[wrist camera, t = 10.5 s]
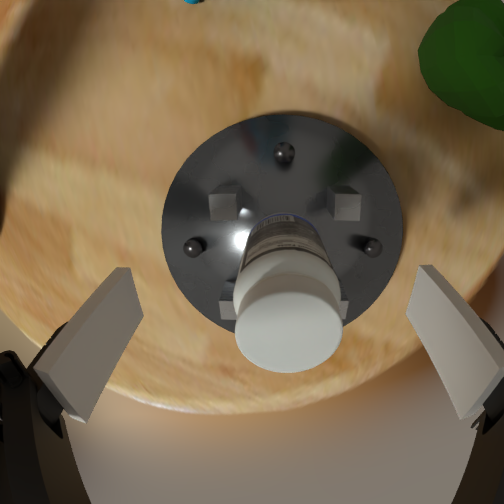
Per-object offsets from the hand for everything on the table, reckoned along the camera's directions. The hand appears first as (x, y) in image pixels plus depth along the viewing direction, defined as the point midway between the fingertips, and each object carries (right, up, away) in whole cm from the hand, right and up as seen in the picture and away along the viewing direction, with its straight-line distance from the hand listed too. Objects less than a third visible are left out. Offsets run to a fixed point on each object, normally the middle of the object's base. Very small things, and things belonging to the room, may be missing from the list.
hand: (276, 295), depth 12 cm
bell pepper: (+13, +15, 0) cm, 19 cm away
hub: (+1, +3, +6) cm, 7 cm away
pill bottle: (+1, +2, +6) cm, 6 cm away
